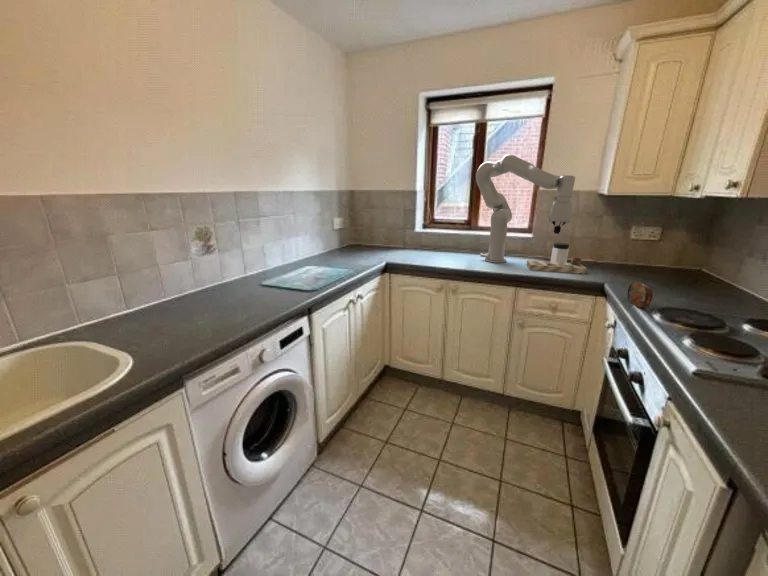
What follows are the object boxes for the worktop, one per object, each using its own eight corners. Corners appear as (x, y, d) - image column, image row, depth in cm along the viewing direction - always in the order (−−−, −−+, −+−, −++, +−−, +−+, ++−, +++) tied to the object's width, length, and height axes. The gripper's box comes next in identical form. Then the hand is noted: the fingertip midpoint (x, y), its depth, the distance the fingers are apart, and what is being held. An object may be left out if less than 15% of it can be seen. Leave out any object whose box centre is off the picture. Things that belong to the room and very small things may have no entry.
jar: (562, 265, 195) (566, 245, 192) (548, 263, 201) (551, 243, 197) (568, 263, 201) (571, 243, 198) (554, 261, 207) (557, 242, 203)
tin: (625, 298, 137) (629, 278, 134) (634, 299, 136) (638, 279, 134) (640, 310, 123) (646, 289, 121) (650, 311, 122) (656, 290, 120)
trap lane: (529, 270, 183) (530, 264, 182) (526, 265, 195) (526, 260, 194) (585, 273, 176) (586, 268, 175) (578, 268, 188) (579, 263, 187)
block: (572, 264, 183) (573, 257, 182) (570, 263, 187) (571, 256, 185) (580, 265, 182) (581, 258, 181) (578, 263, 186) (579, 256, 184)
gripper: (549, 199, 175) (543, 233, 181) (580, 200, 172) (573, 235, 178) (546, 198, 182) (540, 231, 188) (576, 199, 179) (569, 233, 185)
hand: (556, 233), depth 183 cm, fingers closed
